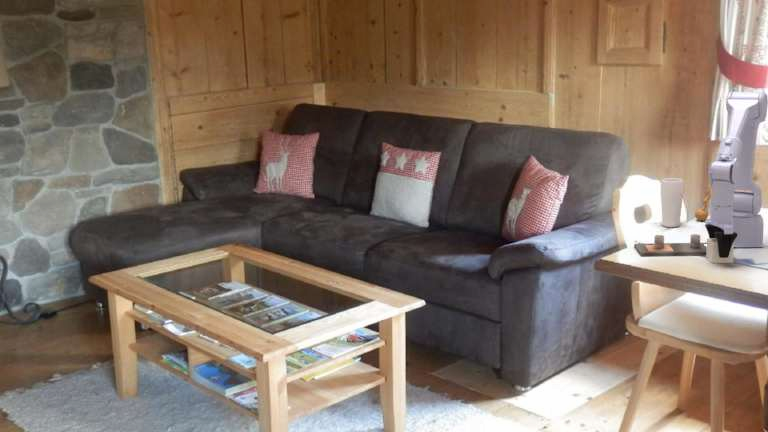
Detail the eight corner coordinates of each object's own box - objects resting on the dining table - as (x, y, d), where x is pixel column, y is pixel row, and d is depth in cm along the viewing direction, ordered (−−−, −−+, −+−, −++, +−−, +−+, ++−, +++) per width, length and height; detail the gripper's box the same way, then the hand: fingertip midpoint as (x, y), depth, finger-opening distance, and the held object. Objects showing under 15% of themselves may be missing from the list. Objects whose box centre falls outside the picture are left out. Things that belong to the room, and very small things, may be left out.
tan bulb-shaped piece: (695, 217, 281) (697, 181, 279) (715, 218, 279) (716, 182, 276) (694, 223, 274) (695, 186, 271) (714, 224, 272) (715, 187, 269)
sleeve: (727, 257, 235) (727, 237, 234) (733, 262, 230) (734, 243, 228) (706, 257, 236) (706, 238, 234) (711, 263, 230) (712, 243, 229)
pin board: (711, 245, 247) (712, 230, 246) (721, 255, 237) (722, 239, 236) (634, 247, 249) (634, 232, 248) (640, 256, 240) (641, 240, 239)
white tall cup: (683, 228, 268) (685, 181, 265) (660, 228, 269) (662, 181, 266) (680, 223, 274) (682, 177, 271) (658, 223, 276) (659, 177, 272)
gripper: (699, 199, 237) (697, 246, 240) (714, 210, 223) (711, 261, 226) (725, 199, 236) (723, 246, 239) (742, 210, 222) (739, 260, 225)
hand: (719, 253), depth 232 cm, fingers open, 7 cm apart
